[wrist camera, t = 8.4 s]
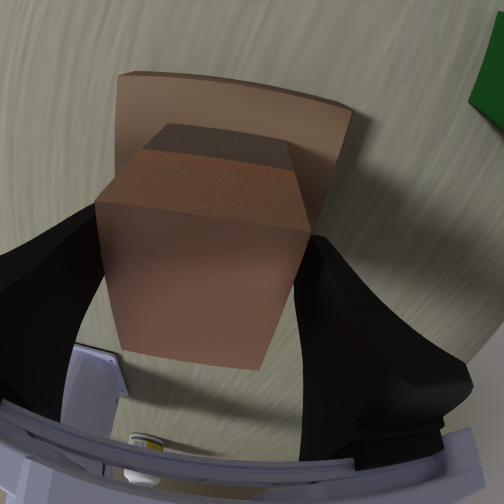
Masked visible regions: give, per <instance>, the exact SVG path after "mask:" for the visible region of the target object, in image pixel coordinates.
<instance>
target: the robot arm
mask: <svg viewBox="0 0 504 504" xmlns="http://www.w3.org/2000/svg"><path fill="white" fill-rule="evenodd" d="M104 275H105V273H104V268H103V262H102V256H101V250H100V243H99V236H98V228H97V220H96V211H95V203H93V204H91V205H89V206H87V207H85V208H84V209H82V210H80V211H78V212H77V213H75V214H73V215H72V216H70V217H68V218H67V219H65V220H64V221H62V222H60V223H59V224H57V225H55V226H54V227H52V228H50V229H49V230H47V231H45V232H44V233H42V234H40V235H39V236H37V237H35V238H34V239H32V240H30V241H28V242H26V243H25V244H23V245H21V246H19V247H17V248H15V249H13V250H11V251H9V252H7V253H5V254H3V255H0V489H2V490H3V491H5V492H6V493H7V498H6V503H5V504H455V503H457V502H459V501H461V500H463V499H465V498H467V497H469V496H471V495H473V494H475V493H477V492H479V491H480V490H482V489H484V488H485V481H484V476H483V471H482V466H481V462H480V458H479V453H478V450H477V446H476V442H475V438H474V434H473V431H472V428H471V427H468V428H465V429H462V430H459V431H455V432H451V433H448V434H446V435H444V436H441V433H440V429H442V428H443V427H444V425H445V423H444V420H443V416H445V415H446V414H447V413H449V412H450V411H451V410H453V409H454V408H455V407H457V406H458V405H459V404H461V403H462V402H463V401H464V400H465V399H466V398H467V397H468V396H469V395H470V394H471V391H472V389H473V387H474V386H473V383H472V380H471V377H470V374H469V372H468V369H467V366H466V364H465V363H464V362H462V361H461V360H459V359H457V358H456V357H454V356H452V355H451V354H449V353H447V352H445V351H444V350H442V349H441V348H439V347H437V346H436V345H435V344H433V343H432V342H430V341H429V340H427V339H426V338H424V337H423V336H422V335H420V334H419V333H418V332H416V331H415V330H414V329H413V328H411V327H410V326H409V325H408V324H407V323H405V322H404V321H403V320H402V319H400V318H399V317H398V316H397V315H396V314H395V313H394V312H393V311H392V310H390V309H389V308H388V307H387V306H386V305H385V304H384V303H383V302H382V301H381V300H380V299H379V298H378V297H377V296H376V295H375V294H374V293H373V292H372V291H371V290H370V289H369V287H368V286H367V285H366V284H365V283H364V282H363V281H362V280H361V279H360V277H359V276H358V275H357V274H356V273H355V272H354V270H353V269H352V268H351V267H350V266H349V265H348V263H347V262H346V261H345V260H344V258H343V257H342V256H341V255H340V254H339V252H338V251H337V250H336V249H335V248H334V246H333V245H332V244H331V243H330V242H329V241H328V240H327V239H326V237H323V236H317V235H312V234H311V235H310V238H309V241H308V244H307V246H306V249H305V252H304V255H303V258H302V260H301V263H300V266H299V269H298V271H297V274H296V277H295V280H294V302H295V309H296V316H297V323H298V329H299V336H300V342H301V349H302V359H303V417H302V434H301V445H300V455H299V462H261V461H239V460H226V459H215V458H206V457H197V456H190V455H183V454H177V453H171V452H165V451H160V450H154V449H149V448H145V447H140V446H136V445H131V444H127V443H123V442H119V441H115V440H111V439H109V438H110V435H111V432H112V427H113V423H114V419H115V414H116V410H117V406H118V402H119V398H120V395H122V396H128V394H129V393H128V390H127V387H126V384H125V382H124V379H123V376H122V373H121V370H120V367H119V364H118V360H117V357H116V356H115V355H114V354H112V353H109V352H105V351H101V350H97V349H93V348H89V347H85V346H81V345H78V344H75V341H76V337H77V334H78V331H79V328H80V325H81V323H82V320H83V318H84V316H85V313H86V311H87V309H88V307H89V305H90V303H91V301H92V299H93V297H94V295H95V293H96V291H97V289H98V287H99V285H100V283H101V281H102V279H103V277H104ZM113 466H115V467H119V468H123V469H127V470H131V471H135V472H139V473H144V474H149V475H153V476H159V477H164V478H170V479H176V480H183V481H190V482H198V483H206V484H218V485H230V486H251V487H285V488H275V489H267V490H266V491H265V494H263V495H257V496H254V497H253V498H252V501H249V500H233V499H223V498H213V497H204V496H197V495H190V494H183V493H176V492H171V491H165V490H160V489H155V488H150V487H145V486H141V485H136V484H132V483H128V482H124V481H120V480H116V479H113V474H114V470H113ZM289 486H294V487H289Z"/></svg>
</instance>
